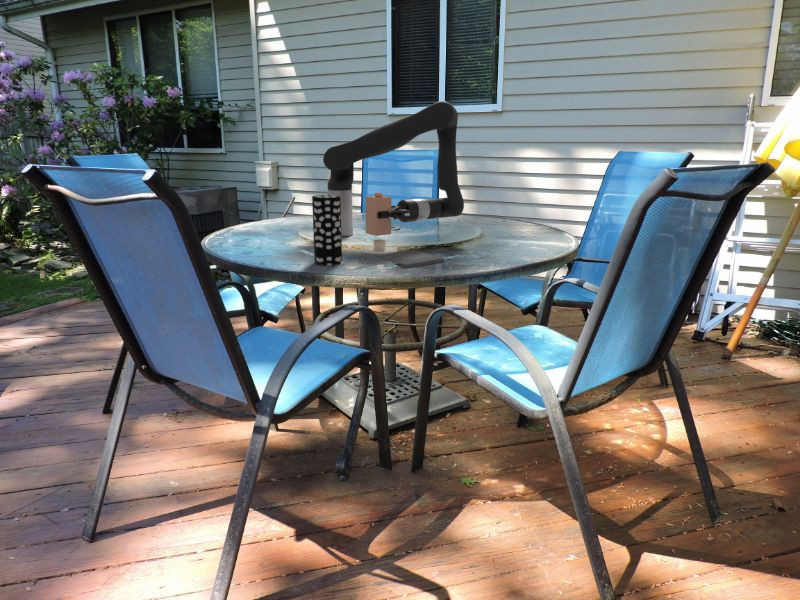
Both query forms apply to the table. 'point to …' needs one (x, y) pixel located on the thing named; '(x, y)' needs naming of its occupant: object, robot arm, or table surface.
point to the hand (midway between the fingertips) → (372, 213)
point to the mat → (412, 258)
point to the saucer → (371, 250)
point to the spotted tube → (327, 229)
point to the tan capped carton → (372, 208)
